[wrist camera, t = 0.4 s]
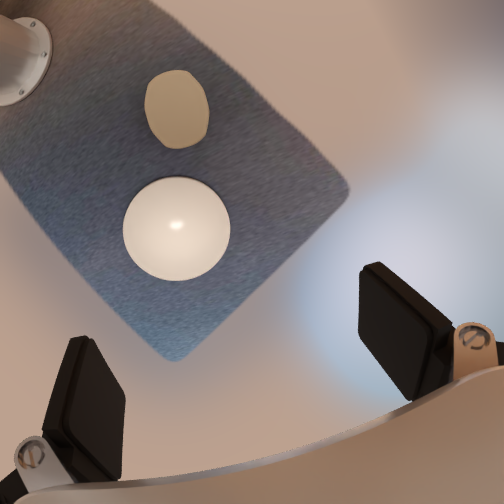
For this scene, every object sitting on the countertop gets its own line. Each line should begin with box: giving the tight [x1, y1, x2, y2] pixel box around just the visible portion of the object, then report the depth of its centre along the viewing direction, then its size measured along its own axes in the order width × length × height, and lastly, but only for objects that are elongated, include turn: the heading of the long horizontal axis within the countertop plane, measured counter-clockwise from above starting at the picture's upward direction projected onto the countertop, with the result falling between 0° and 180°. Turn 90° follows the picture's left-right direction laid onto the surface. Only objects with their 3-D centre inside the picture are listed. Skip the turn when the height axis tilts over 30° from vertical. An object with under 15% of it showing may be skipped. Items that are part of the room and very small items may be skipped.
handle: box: [145, 70, 209, 149], centre depth 29 cm, size 5×6×15 cm
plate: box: [123, 176, 230, 281], centre depth 41 cm, size 14×14×2 cm
